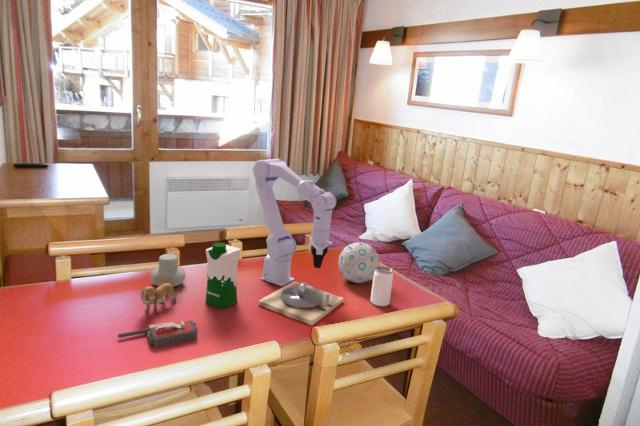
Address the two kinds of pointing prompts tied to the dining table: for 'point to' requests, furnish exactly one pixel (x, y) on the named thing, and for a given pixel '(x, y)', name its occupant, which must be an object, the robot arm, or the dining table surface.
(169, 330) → the walkie-talkie
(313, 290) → the dial
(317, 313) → the stand plate
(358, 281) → the puzzle ball
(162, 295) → the lion figurine
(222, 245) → the milk carton
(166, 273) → the air freshener
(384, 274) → the can
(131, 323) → the dining table surface
